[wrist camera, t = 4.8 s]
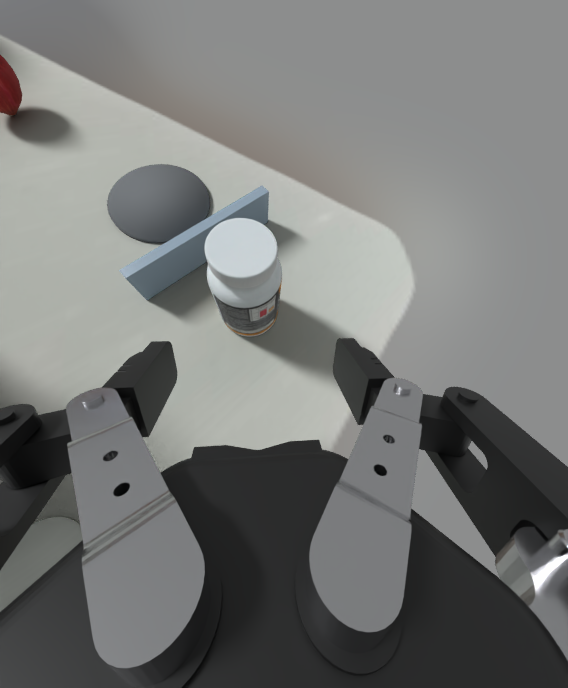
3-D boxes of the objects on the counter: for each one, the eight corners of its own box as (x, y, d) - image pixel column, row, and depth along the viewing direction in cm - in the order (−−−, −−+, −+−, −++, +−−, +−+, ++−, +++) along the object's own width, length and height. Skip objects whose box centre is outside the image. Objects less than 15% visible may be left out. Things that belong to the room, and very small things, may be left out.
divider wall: (147, 300, 24) (125, 278, 20) (141, 293, 24) (118, 270, 20) (267, 222, 28) (268, 191, 24) (262, 216, 28) (262, 185, 25)
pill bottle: (288, 317, 25) (304, 255, 16) (243, 349, 24) (230, 303, 14) (255, 278, 26) (252, 197, 17) (210, 306, 25) (177, 236, 15)
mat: (146, 260, 25) (144, 257, 25) (89, 195, 27) (87, 192, 27) (229, 210, 28) (228, 207, 28) (173, 154, 30) (172, 151, 30)
